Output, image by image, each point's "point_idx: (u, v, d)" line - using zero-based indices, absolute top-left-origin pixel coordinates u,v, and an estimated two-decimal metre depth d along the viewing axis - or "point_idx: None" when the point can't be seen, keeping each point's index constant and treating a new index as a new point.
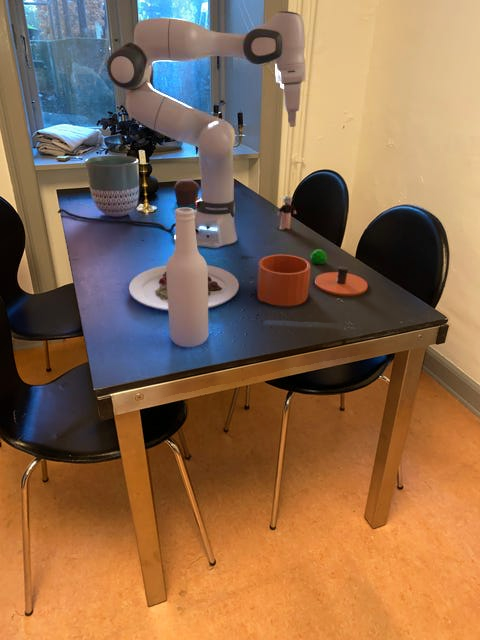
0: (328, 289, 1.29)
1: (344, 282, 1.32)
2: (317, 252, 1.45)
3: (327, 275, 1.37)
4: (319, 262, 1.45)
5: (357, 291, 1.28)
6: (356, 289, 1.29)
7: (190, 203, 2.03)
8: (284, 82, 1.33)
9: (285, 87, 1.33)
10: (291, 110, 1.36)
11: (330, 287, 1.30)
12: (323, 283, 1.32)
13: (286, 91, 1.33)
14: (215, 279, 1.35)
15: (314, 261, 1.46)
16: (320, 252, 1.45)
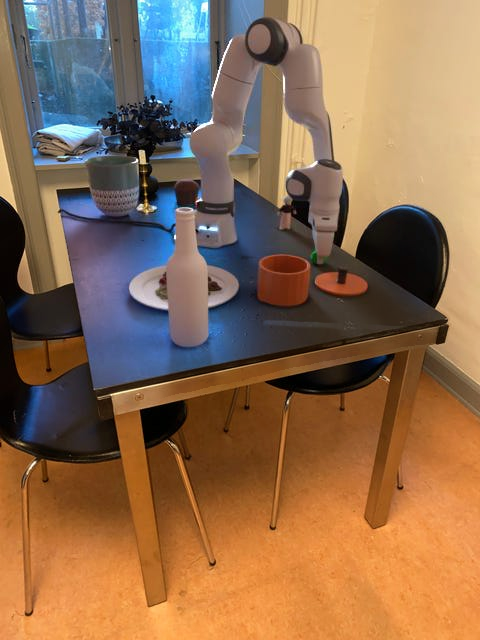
0: (328, 289, 1.29)
1: (344, 282, 1.32)
2: None
3: (327, 275, 1.37)
4: None
5: (357, 291, 1.28)
6: (356, 289, 1.29)
7: (190, 203, 2.03)
8: (318, 229, 1.34)
9: (319, 235, 1.34)
10: (322, 255, 1.36)
11: (330, 287, 1.30)
12: (323, 283, 1.32)
13: (319, 238, 1.34)
14: (215, 279, 1.35)
15: (314, 261, 1.46)
16: None
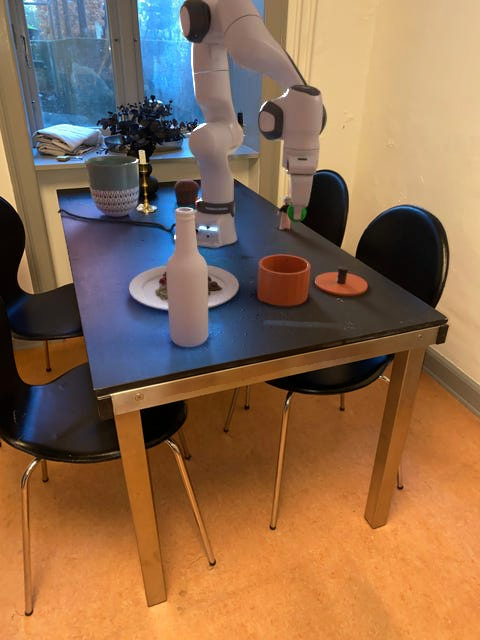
0: (328, 289, 1.29)
1: (344, 282, 1.32)
2: None
3: (327, 275, 1.37)
4: None
5: (357, 291, 1.28)
6: (356, 289, 1.29)
7: (190, 203, 2.03)
8: (293, 172, 1.07)
9: (293, 179, 1.07)
10: (298, 206, 1.10)
11: (330, 287, 1.30)
12: (323, 283, 1.32)
13: (294, 183, 1.07)
14: (215, 279, 1.35)
15: (291, 217, 1.19)
16: None
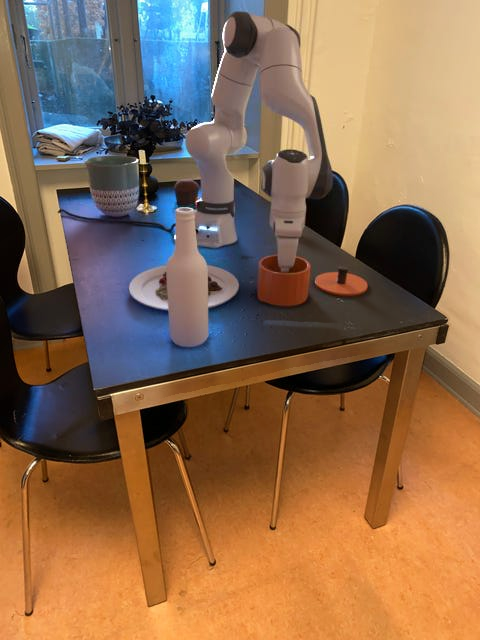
0: (328, 289, 1.29)
1: (344, 282, 1.32)
2: None
3: (327, 275, 1.37)
4: None
5: (357, 291, 1.28)
6: (356, 289, 1.29)
7: (190, 203, 2.03)
8: (279, 235, 1.10)
9: (279, 242, 1.10)
10: (284, 266, 1.13)
11: (330, 287, 1.30)
12: (323, 283, 1.32)
13: (280, 246, 1.10)
14: (215, 279, 1.35)
15: None
16: (288, 271, 1.28)
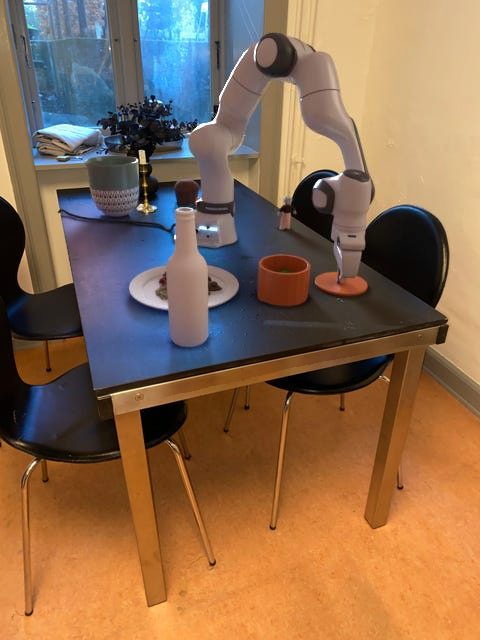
0: (328, 289, 1.29)
1: None
2: None
3: (327, 275, 1.37)
4: None
5: (357, 291, 1.28)
6: (356, 289, 1.29)
7: (190, 203, 2.03)
8: (343, 248, 1.19)
9: (344, 254, 1.19)
10: (347, 277, 1.22)
11: (330, 287, 1.30)
12: (323, 283, 1.32)
13: (345, 258, 1.20)
14: (215, 279, 1.35)
15: None
16: (288, 271, 1.28)
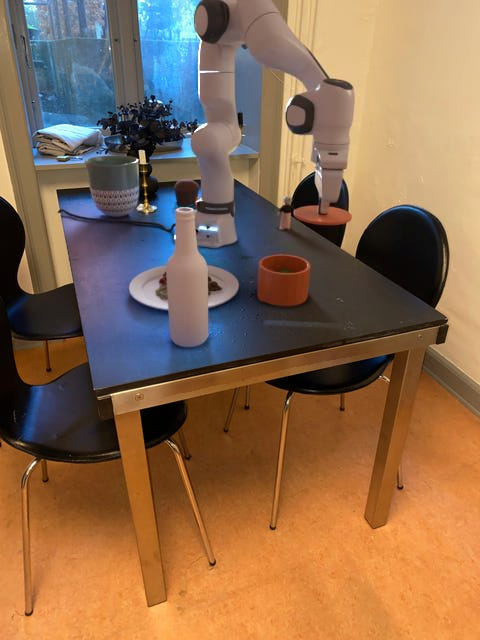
0: (308, 218, 1.16)
1: (326, 213, 1.19)
2: None
3: (308, 208, 1.24)
4: None
5: (340, 220, 1.15)
6: (339, 219, 1.16)
7: (190, 203, 2.03)
8: (323, 167, 1.06)
9: (324, 174, 1.06)
10: (328, 201, 1.09)
11: (310, 217, 1.17)
12: (303, 214, 1.19)
13: (325, 178, 1.06)
14: (215, 279, 1.35)
15: None
16: (288, 271, 1.28)
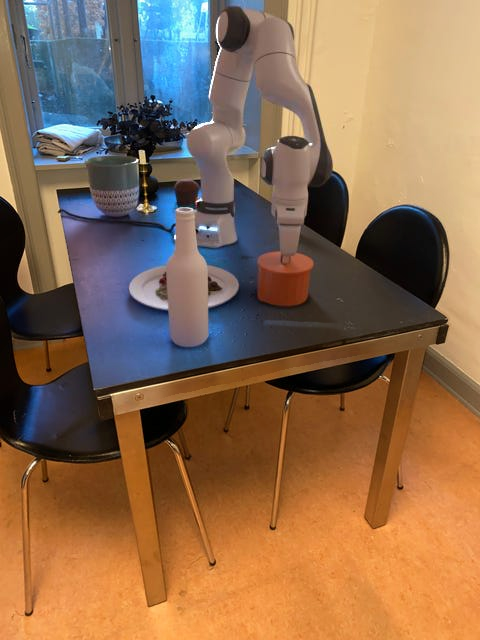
0: (269, 268, 1.18)
1: None
2: None
3: (272, 254, 1.26)
4: None
5: (300, 270, 1.17)
6: (300, 268, 1.18)
7: (190, 203, 2.03)
8: (280, 222, 1.09)
9: (281, 229, 1.09)
10: (286, 254, 1.11)
11: (272, 266, 1.19)
12: (266, 262, 1.21)
13: (282, 233, 1.09)
14: (215, 279, 1.35)
15: None
16: None
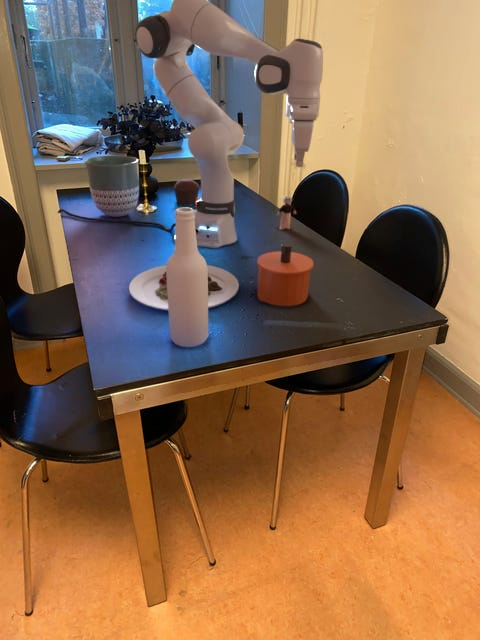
0: (269, 268, 1.18)
1: (288, 261, 1.21)
2: None
3: (272, 254, 1.26)
4: None
5: (300, 270, 1.17)
6: (300, 268, 1.18)
7: (190, 203, 2.03)
8: (295, 118, 1.18)
9: (296, 124, 1.18)
10: (300, 150, 1.20)
11: (272, 266, 1.19)
12: (266, 262, 1.21)
13: (296, 128, 1.18)
14: (215, 279, 1.35)
15: None
16: None
